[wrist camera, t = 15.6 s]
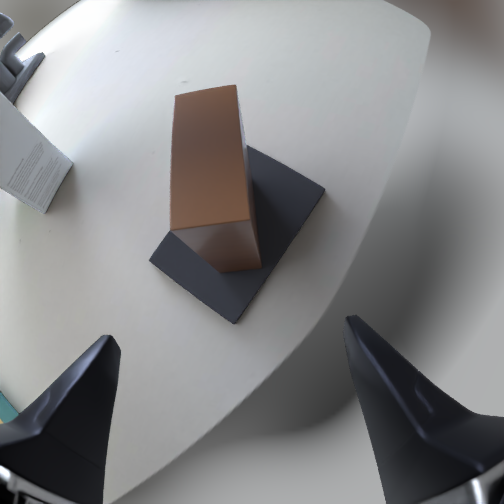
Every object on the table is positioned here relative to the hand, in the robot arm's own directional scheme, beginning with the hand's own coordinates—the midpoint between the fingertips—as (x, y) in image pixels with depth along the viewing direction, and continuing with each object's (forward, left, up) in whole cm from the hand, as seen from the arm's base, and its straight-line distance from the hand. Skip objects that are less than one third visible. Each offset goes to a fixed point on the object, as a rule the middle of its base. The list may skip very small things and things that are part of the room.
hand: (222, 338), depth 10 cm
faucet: (+55, -7, -10) cm, 56 cm away
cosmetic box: (+27, +1, -10) cm, 29 cm away
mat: (+5, -6, -10) cm, 12 cm away
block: (+5, -6, -9) cm, 12 cm away
